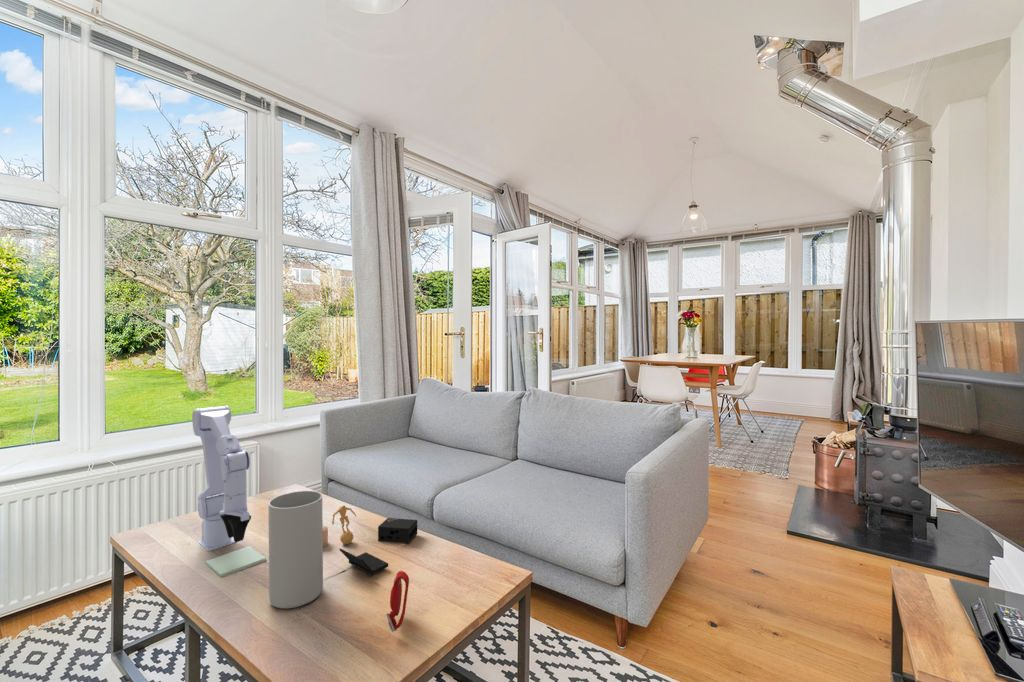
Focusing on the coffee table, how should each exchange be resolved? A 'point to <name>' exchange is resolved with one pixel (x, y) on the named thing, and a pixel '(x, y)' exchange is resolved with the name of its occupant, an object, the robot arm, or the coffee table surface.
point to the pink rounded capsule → (325, 536)
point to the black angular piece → (366, 562)
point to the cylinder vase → (295, 548)
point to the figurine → (346, 535)
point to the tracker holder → (397, 600)
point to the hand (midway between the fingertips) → (235, 538)
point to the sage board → (235, 561)
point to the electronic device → (397, 530)
